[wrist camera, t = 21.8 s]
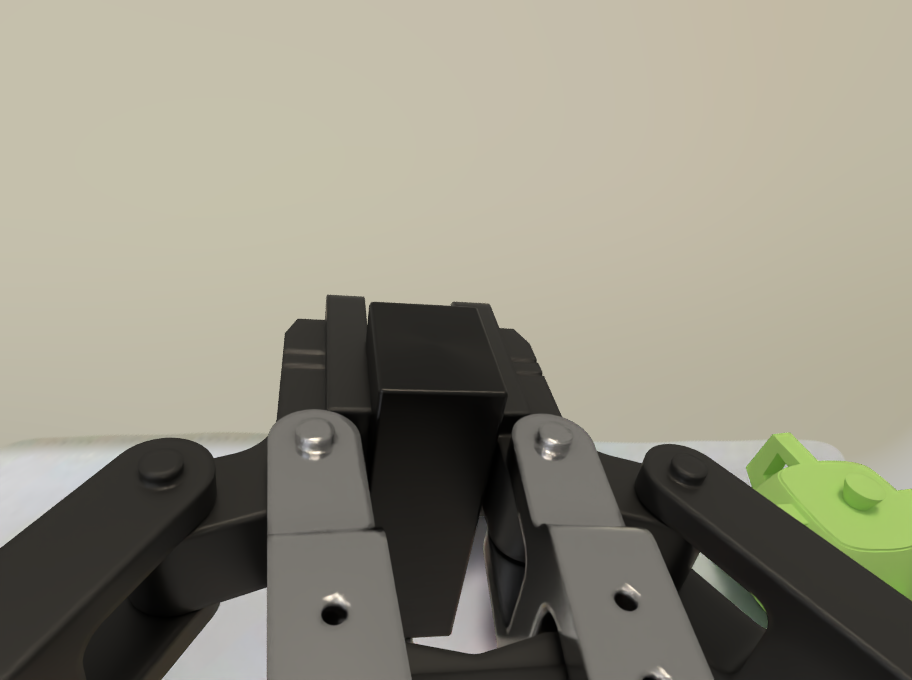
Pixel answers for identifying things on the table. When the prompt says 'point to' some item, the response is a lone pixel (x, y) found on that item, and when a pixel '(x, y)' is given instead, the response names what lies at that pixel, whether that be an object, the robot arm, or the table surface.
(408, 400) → the knife
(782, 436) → the teapot
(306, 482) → the robot arm
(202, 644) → the table surface
